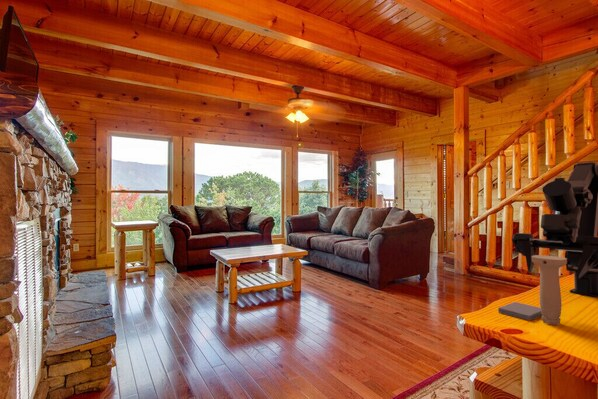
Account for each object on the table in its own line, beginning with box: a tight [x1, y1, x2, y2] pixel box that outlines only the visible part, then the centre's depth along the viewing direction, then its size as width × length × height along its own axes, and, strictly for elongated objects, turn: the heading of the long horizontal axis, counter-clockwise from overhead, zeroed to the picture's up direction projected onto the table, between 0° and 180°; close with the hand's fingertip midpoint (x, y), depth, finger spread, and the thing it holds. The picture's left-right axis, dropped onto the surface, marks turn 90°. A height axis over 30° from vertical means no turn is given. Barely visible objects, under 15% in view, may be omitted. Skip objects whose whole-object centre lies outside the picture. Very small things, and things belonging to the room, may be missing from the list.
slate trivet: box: [497, 301, 543, 322], centre depth 81 cm, size 8×7×1 cm
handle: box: [532, 254, 567, 326], centre depth 75 cm, size 5×6×15 cm
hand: (552, 274), depth 76 cm, fingers open, 9 cm apart
